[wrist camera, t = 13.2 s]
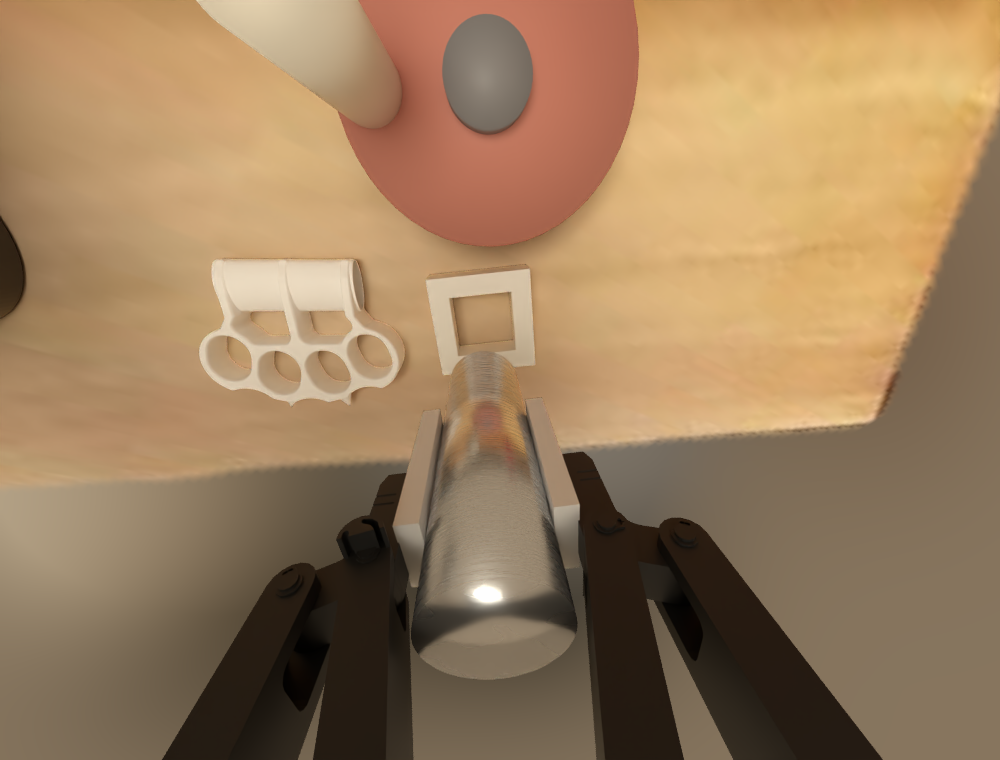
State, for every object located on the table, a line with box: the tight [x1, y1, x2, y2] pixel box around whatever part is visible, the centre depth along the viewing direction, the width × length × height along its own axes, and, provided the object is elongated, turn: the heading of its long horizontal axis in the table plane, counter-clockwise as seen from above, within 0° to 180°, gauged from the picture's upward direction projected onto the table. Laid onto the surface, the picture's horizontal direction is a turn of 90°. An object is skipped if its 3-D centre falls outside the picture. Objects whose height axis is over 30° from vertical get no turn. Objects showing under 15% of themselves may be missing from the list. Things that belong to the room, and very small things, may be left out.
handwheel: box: [196, 0, 639, 246], centre depth 16 cm, size 18×18×14 cm
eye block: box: [425, 264, 535, 375], centre depth 34 cm, size 9×9×3 cm
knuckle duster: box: [199, 258, 405, 407], centre depth 34 cm, size 3×18×15 cm
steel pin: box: [411, 351, 577, 679], centre depth 15 cm, size 4×4×14 cm
